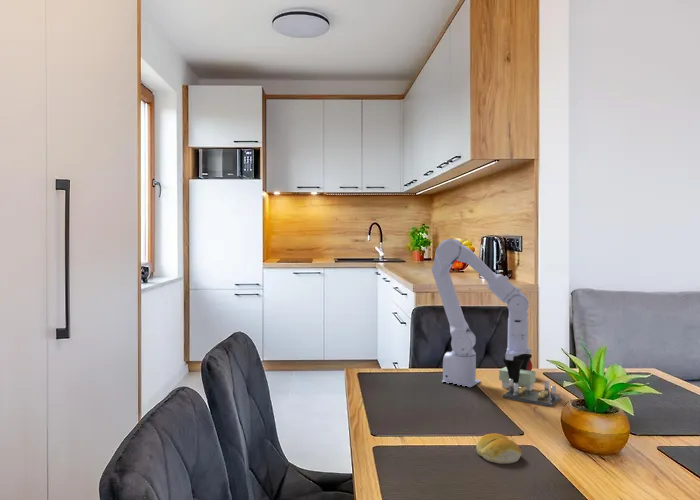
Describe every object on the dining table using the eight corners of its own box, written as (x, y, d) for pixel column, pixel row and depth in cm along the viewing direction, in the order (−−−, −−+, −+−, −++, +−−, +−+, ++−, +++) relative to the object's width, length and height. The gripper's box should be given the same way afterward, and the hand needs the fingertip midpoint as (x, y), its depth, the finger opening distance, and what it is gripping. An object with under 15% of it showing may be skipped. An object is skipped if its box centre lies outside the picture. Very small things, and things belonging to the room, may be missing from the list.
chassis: (502, 397, 144) (502, 382, 143) (513, 390, 151) (513, 375, 151) (551, 407, 136) (551, 390, 136) (560, 398, 143) (560, 383, 143)
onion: (512, 378, 164) (513, 353, 164) (512, 373, 169) (512, 349, 169) (532, 379, 162) (532, 354, 162) (531, 375, 168) (531, 350, 167)
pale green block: (499, 380, 154) (499, 370, 154) (505, 376, 158) (505, 366, 158) (529, 385, 148) (530, 374, 148) (535, 381, 152) (535, 371, 152)
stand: (502, 387, 154) (502, 380, 154) (506, 384, 157) (506, 377, 157) (529, 391, 149) (529, 384, 149) (532, 389, 152) (532, 382, 152)
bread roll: (504, 445, 111) (504, 426, 111) (527, 463, 102) (527, 442, 102) (468, 448, 109) (468, 429, 109) (489, 466, 100) (489, 446, 100)
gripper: (523, 339, 145) (522, 388, 145) (539, 332, 156) (538, 377, 157) (498, 336, 149) (498, 383, 149) (515, 329, 160) (515, 373, 161)
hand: (517, 380), depth 153 cm, fingers closed on pale green block, 5 cm apart
